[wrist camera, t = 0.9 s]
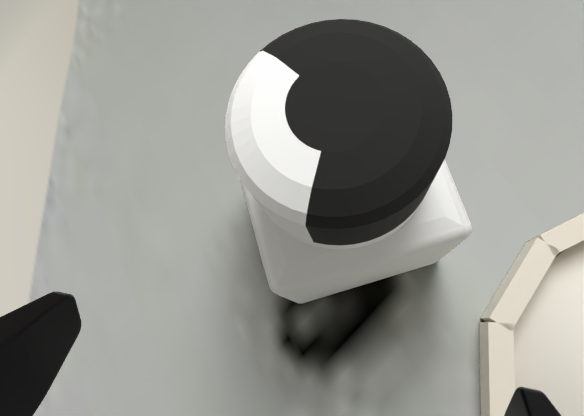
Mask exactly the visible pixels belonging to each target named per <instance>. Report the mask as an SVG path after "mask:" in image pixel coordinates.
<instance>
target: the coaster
mask: <svg viewBox="0 0 584 416" xmlns="http://www.w3.org/2000/svg"><path fill="white" fill-rule="evenodd" d="M561 251H562V252H561ZM559 252H560V253H559ZM557 253H559V254H558V255H557ZM556 255H557V256H556ZM481 319H482V320H484V321H485V322H479V335H480V402H481V416H504V415H505V412H506V410H507V407H508V405H509V403H510V401H511V399H512V396H513V394H514V392H515V390H516V389H517V388H518V387H526V388H531V389H536V390H540V391H542V392H543V393H544V394H545V395H546V396H547V397H548V399H549V400H550V401H551V403H552V404H553V405H554V406H555V408H556V409H557V410H558V412H559V413H560V414H561V416H584V213H583V214H581V215H579V216H577V217H575V218H573V219H571V220H569V221H567V222H565V223H563V224H561V225H559V226H557V227H555V228H553V229H551V230H549V231H547V232H545V233H543V234H541V235H539V236H537V237H535V238H533V239H531V240H529V242H527V243H525V245H524V246H523V248H522V250H521V251H520V253H519V255H518V256H517V258H516V260H515V261H514V263H513V265H512V266H511V268H510V270H509V271H508V273H507V275H506V276H505V278H504V280H503V281H502V283H501V285H500V286H499V288H498V290H497V291H496V293H495V295H494V296H493V298H492V300H491V301H490V303H489V305H488V306H487V308H486V310H485V311H484V313H483V315H482V316H481Z"/></svg>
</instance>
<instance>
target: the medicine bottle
mask: <svg viewBox="0 0 584 416" xmlns="http://www.w3.org/2000/svg"><path fill="white" fill-rule="evenodd" d="M451 133H452V109H451V102H450V98H449V94H448V91H447V88H446V85H445V83H444V81H443V79H442V76H441V74H440V72H439V71H438V69H437V68H436V66H435V65H434V63H433V62H432V61H431V59H430V58H429V57H428V56H427V55H426V54H425V53H424V52H423V51H422V50H421V49H420V48H419V47H418V46H417V45H415V44H414V43H413V42H412V41H410V40H409V39H407V38H406V37H404V36H402V35H401V34H399V33H398V32H395V31H393V30H391V29H389V28H386V27H384V26H381V25H377V24H374V23H371V22H365V21H359V20H346V19H337V20H325V21H320V22H315V23H311V24H308V25H305V26H302V27H299V28H296V29H294V30H292V31H290V32H287V33H285V34H283V35H282V36H280V37H278V38H277V39H275V40H274V41H272V42H271V43H269V44H268V45H267V46H266V47H265V48H263V49H262V50H261V51H260V52H259V53H258V54H257V55H256V56H255V57H254V58H253V59H252V60H251V61H250V62H249V64H248V65H247V66H246V68H245V69H244V70H243V72H242V73H241V75H240V77H239V78H238V80H237V82H236V84H235V86H234V88H233V91H232V94H231V96H230V99H229V103H228V108H227V112H226V116H225V134H226V144H227V148H228V152H229V157H230V159H231V162H232V164H233V167H234V169H235V171H236V173H237V175H238V176H239V178H240V182H241V185H242V189H243V193H244V196H245V200H246V204H247V207H248V211H249V215H250V218H251V222H252V226H253V230H254V233H255V237H256V241H257V244H258V248H259V252H260V255H261V259H262V263H263V266H264V270H265V274H266V277H267V281H268V285H269V288H270V289H271V291H272V292H273V293H275V294H277V295H279V296H281V297H284V298H286V299H289V300H291V301H293V302H296V303H298V304H302V303H306V302H309V301H312V300H316V299H319V298H322V297H326V296H329V295H332V294H335V293H339V292H342V291H345V290H349V289H352V288H355V287H358V286H362V285H365V284H368V283H372V282H375V281H378V280H381V279H385V278H388V277H391V276H395V275H398V274H401V273H404V272H408V271H411V270H414V269H418V268H421V267H424V266H427V265H431V264H434V263H436V262H437V261H439V260H440V259H441V258H442V257H444V256H445V255H446V254H447V253H449V252H450V251H451V250H452V249H453V248H455V247H456V246H457V245H458V244H460V243H461V242H462V241H463V240H465V239H466V238H467V237H468V236H470V233H471V231H472V227H471V223H470V220H469V218H468V215H467V213H466V210H465V208H464V206H463V203H462V201H461V198H460V196H459V193H458V191H457V188H456V186H455V183H454V181H453V178H452V176H451V173H450V171H449V169H448V166H447V164H446V161H445V156H446V153H447V150H448V147H449V144H450V138H451Z"/></svg>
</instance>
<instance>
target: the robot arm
mask: <svg viewBox="0 0 584 416" xmlns="http://www.w3.org/2000/svg"><path fill="white" fill-rule="evenodd" d="M80 329H81V319H80V315H79V311H78V308H77V304H76V300H75V298H74V297H73V296H72V295H71V294H67V293H62V292H52V293H49V294H47V295H45V296H43V297H41V298H39V299H37V300H35V301H33V302H31V303H29V304H27V305H24V306H22V307H20V308H18V309H16V310H14V311H12V312H10V313H8V314H6V315H4V316H2V317H0V416H33V414H34V413H35V411H36V410H37V408H38V407H39V405H40V404H41V402H42V400H43V399H44V397H45V395H46V394H47V392H48V390H49V389H50V387H51V385H52V383H53V381H54V379H55V377H56V376H57V374H58V372H59V370H60V368H61V366H62V364H63V362H64V361H65V359H66V357H67V355H68V353H69V351H70V349H71V347H72V346H73V344H74V342H75V340H76V338H77V336H78V334H79V332H80ZM504 416H561V414H560V413H559V412H558V410H557V409H556V408H555V406H554V405H553V404H552V403H551V401H550V400H549V399H548V397H547V396H546V395H545V394H544V393H543V392H542V391H540V390H536V389H531V388H526V387H518V388H517V389H516V390H515V392H514V394H513V396H512V399H511V401H510V403H509V405H508V407H507V410H506V412H505V415H504Z"/></svg>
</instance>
